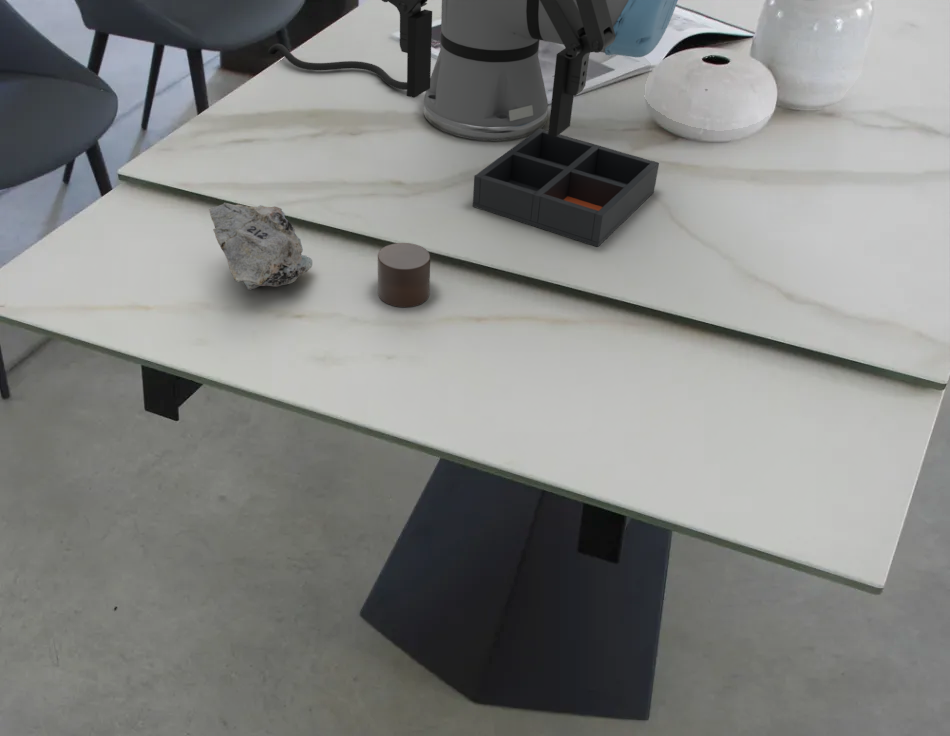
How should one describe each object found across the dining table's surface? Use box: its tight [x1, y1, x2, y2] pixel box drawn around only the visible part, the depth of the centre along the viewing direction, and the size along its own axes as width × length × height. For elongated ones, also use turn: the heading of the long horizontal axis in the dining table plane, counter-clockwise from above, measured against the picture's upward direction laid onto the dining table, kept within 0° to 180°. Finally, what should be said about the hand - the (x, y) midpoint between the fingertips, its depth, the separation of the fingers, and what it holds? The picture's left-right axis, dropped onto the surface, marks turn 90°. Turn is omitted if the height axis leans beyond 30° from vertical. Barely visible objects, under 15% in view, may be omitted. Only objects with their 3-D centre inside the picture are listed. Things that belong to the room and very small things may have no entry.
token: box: [377, 242, 431, 308], centre depth 95 cm, size 5×5×4 cm
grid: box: [472, 128, 660, 247], centre depth 111 cm, size 15×15×4 cm
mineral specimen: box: [208, 202, 313, 291], centre depth 95 cm, size 10×8×10 cm
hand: (487, 111), depth 88 cm, fingers open, 13 cm apart
